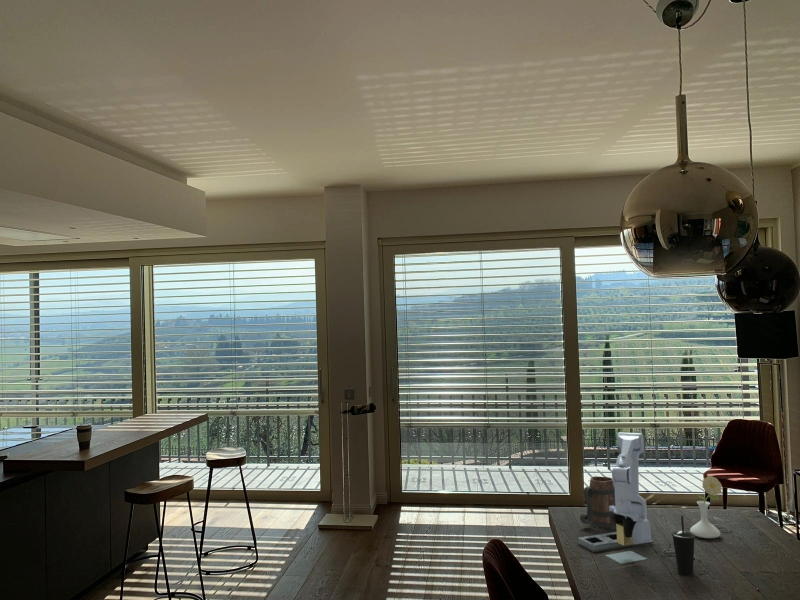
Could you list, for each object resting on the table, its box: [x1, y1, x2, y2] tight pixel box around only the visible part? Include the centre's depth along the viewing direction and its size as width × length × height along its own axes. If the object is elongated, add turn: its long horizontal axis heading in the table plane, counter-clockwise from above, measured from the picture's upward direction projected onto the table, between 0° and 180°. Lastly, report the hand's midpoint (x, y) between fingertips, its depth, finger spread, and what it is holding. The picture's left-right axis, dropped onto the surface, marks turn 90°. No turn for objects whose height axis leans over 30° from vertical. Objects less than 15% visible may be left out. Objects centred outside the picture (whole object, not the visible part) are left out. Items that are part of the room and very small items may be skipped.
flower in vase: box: [689, 475, 723, 539], centre depth 244 cm, size 13×11×25 cm
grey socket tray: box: [577, 531, 632, 553], centre depth 235 cm, size 18×10×3 cm, turn 108°
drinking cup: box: [671, 515, 696, 577], centre depth 207 cm, size 8×8×20 cm
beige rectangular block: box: [615, 523, 634, 546], centre depth 222 cm, size 4×4×7 cm
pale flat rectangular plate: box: [605, 550, 648, 565], centre depth 222 cm, size 12×9×1 cm
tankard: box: [579, 475, 617, 530], centre depth 262 cm, size 24×17×20 cm
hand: (624, 535), depth 222 cm, fingers closed on beige rectangular block, 4 cm apart
